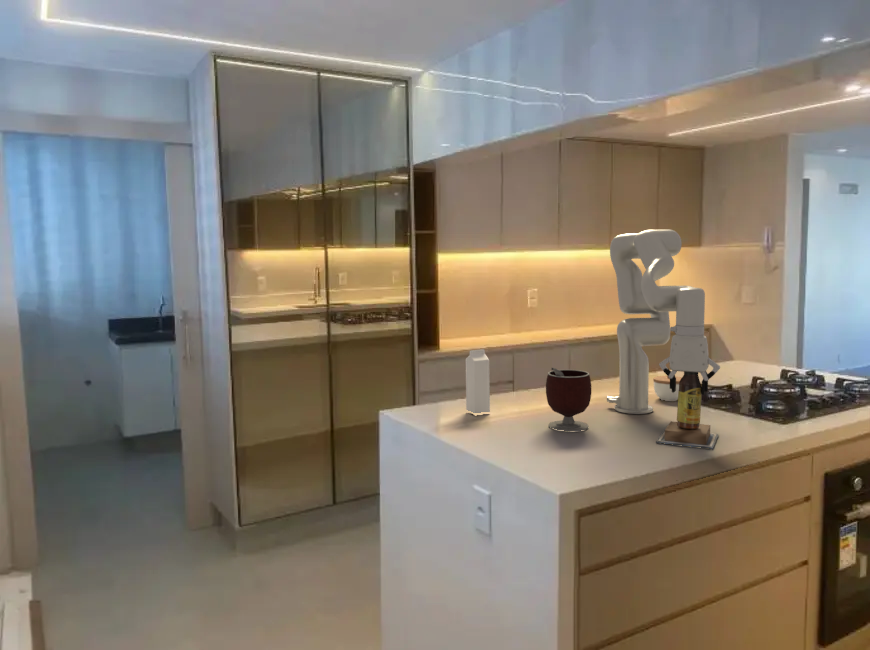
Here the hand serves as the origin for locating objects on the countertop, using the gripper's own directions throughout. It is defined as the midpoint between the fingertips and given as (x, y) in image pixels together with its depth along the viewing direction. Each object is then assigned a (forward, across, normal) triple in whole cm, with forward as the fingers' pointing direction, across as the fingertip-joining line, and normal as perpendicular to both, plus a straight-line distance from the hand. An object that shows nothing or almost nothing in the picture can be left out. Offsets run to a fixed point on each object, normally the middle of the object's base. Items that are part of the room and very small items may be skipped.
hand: (688, 392), depth 194 cm
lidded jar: (+14, -14, +52) cm, 56 cm away
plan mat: (+14, 0, 0) cm, 14 cm away
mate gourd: (+14, -36, 0) cm, 38 cm away
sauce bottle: (+10, 0, 0) cm, 10 cm away
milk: (+14, -68, +6) cm, 70 cm away
